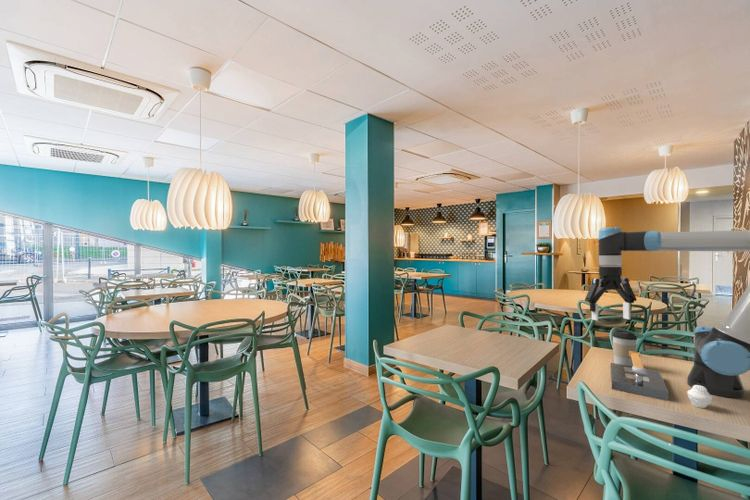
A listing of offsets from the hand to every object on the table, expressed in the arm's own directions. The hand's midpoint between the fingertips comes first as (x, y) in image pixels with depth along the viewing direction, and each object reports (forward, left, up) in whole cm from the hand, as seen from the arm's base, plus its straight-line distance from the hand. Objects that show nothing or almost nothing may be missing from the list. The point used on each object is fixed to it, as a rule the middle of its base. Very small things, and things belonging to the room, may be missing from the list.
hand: (610, 319), depth 136 cm
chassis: (-9, 0, -24) cm, 25 cm away
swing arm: (-9, 0, -16) cm, 19 cm away
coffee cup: (-6, -23, -24) cm, 34 cm away
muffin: (-25, +11, -24) cm, 36 cm away
